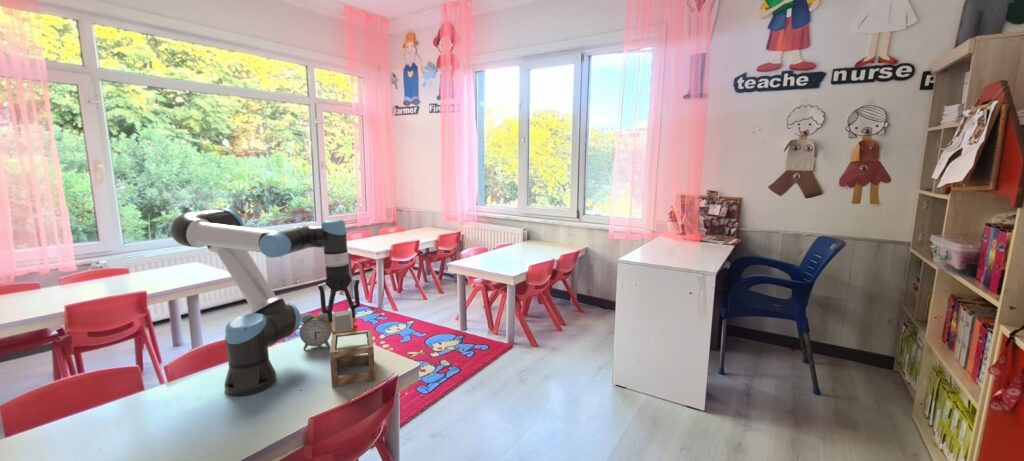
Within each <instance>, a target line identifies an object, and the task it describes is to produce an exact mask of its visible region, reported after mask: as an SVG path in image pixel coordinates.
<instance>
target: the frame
mask: <svg viewBox="0 0 1024 461" xmlns="http://www.w3.org/2000/svg"><path fill="white" fill-rule="evenodd" d="M358 334H367V346H362V347H355V348H347V349H340V350H337V337H341V336H349V335H358ZM330 339H331V341H330V347H329V364H330V375H331V376H330V377H331V380H330V381H331V387H332V388H335V387H338V386H345V385H351V384H357V383H363V382H373V381H376V372H375V371H376V370H375V351H374V350H375V347H374V338H373V330H372V329H367V330H357V331H356V332H348V333H339V334H332V333H331V337H330ZM350 355H354V356H351V357H344V358H339V357H343V356H350ZM360 364H362V365H363V364H368V371H363V372H356V373H349V374H343V375H338V373H339V372H338V370H339V368H341V367H348V366H355V365H360Z"/></svg>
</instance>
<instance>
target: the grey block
mask: <svg viewBox="0 0 1024 461" xmlns="http://www.w3.org/2000/svg"><path fill="white" fill-rule="evenodd" d="M334 315H335V327H336V333H337V334H338V333H342V332H347V331H352V327H351V316H350V313H349V312H348V309H347V310H341V311H335V312H334Z"/></svg>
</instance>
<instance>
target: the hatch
mask: <svg viewBox="0 0 1024 461" xmlns="http://www.w3.org/2000/svg"><path fill="white" fill-rule="evenodd" d="M362 346H368V344H367V334H358V335H349V336H341V337H337V350H340V349H347V348H355V347H362Z"/></svg>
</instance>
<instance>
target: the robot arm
mask: <svg viewBox="0 0 1024 461" xmlns="http://www.w3.org/2000/svg"><path fill="white" fill-rule="evenodd" d="M347 234H348V233H347V230H346V222H345V221H344V220H343V219H341V218H340V219H338V218H337V219H336V218H335V219H325V220H322V221H321V224H320V225H306V224H302V225H295V226H293V227H292V228H290V229H286V230H274V229H265V228H257V227H249V226H245V225H244V220H243V219H242V217H241V216H240V215H239V214H238V213H237V212H236V211H235V210H233V209H231V208H230V209H229V208H212V209H205V210H198V211H190V212H186V213H183V214H181V215H178V216H177V217H175V219H174V220H173V221H172V223H171V226H170V235H171V237H172V239H173V240H174V241H175V242H176V243H178V244H179V245H181V246H184V247H190V248H191V247H192V248H197V249H198V248H204V247H206V248H207V249H208V250H209V252H212V253H215V254H216V253H217V255H218V257H219V258H220V260H221V262H222V264H223V265H224V267H225V268H226V270H227V272H228V273H229V274H230V276H231V277H232V279H233V281H234V283H235V284H236V285H237V287H238V289H239V291H240V292H241V293H242V295H243V297H244V298H245V301H246V302H247V303H248V305H249V306H250V308H251V312H250V313H248V314H245V315H240V316H238V317H235V318H233V319H232V320H230V321H228V323H227V325H226V326H225V329H224V330H225V335H224V339H225V346H226V351H227V360H228V361H227V362H228V370H227V372H226V378H225V381H224V392H225V393H226V394H227V395H230V396H233V397H241V396H242V397H243V396H249V395H255V394H257V393H260V392H262V391H265V390H267V389H269V388H271V387H272V386H273V385H274V384H275V383H276V382H277V372H276V370H275V367H274V366H273V364H272V362H271V360H270V357H269V348H270V347H271V346H273V345H275V344H277V343H280V341H282V340H284V339H286V338H289V337H290V336H292V335H293V334H294V333H295V332H297V330H298V329H299V328H300V326H301V323H302V322H301V317H302V315H301V312H300V311H299V309H298V307H296V305H294V304H292V303H287V302H286V301H285V300H284V299H283V297H280V296H277V295H276V294H275V293H274V291H273V289H272V288H271V286H270V285H269V283H268V281H267V280H266V279H265V276H264V274H262V272H261V270H260V269H259V267H258V265H257V264H256V262H255V261H254V259H253V257H252V255H251V254H250V253H249V252H255V253H262V254H263V255H264V256H266V257H267V258H270V259H272V258H273V259H275V258H279V257H280V258H281V257H283V256H286V255H289V254H292V253H295V252H299V251H303V250H307V249H309V248H310V249H311V248H323V254H324V265H325V274H326V276H325V277H326V279H325V282H323V283H320V284H317V288H318V290H319V294H320V295H319V298H320V310H321V312H323V313H327V314H328V321H329V323H331V322H332V323H331V324H332V330H333V332H336V327H335V315H334V313H335V312H334V311H333V308H334V303H335V297H336V294H337V292H341V291H343V292H344V294H345V298H346V300H347V302H348V306H349V308H347V310H348V312H349V313H350V316H351V327H352V328H353V325H354V324H353V319H352V318H356V309H357V308H359V307H360V306H361V303H360V302H361V301H360V292H359V284H360V280H359V278H356V277H355V278H352V277H351V275H350V265H349V262H350V261H349V251H348V241H347ZM350 284H352V285H353V287H352V288H353V297H354V298H353V299H354V302H353V299H352V297H351V294H350V291H349V289H348V287H349V286H350ZM326 286H327V287H328V288H329V289H330V294H329V299H328V304H327V303H326V292H325V290H326V289H327V288H326Z"/></svg>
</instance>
